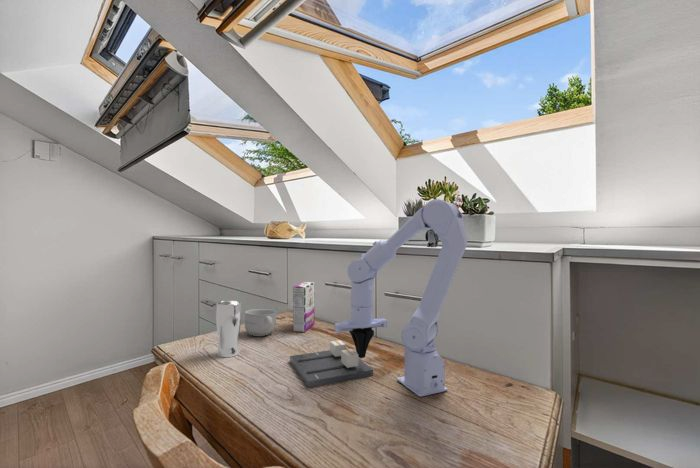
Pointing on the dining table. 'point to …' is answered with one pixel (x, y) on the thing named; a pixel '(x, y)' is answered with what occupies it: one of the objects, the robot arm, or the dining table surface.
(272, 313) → the teacup
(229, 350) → the beer glass
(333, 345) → the fader far
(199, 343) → the dining table surface
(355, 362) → the fader near
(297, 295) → the candy bar box
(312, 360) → the fader console
